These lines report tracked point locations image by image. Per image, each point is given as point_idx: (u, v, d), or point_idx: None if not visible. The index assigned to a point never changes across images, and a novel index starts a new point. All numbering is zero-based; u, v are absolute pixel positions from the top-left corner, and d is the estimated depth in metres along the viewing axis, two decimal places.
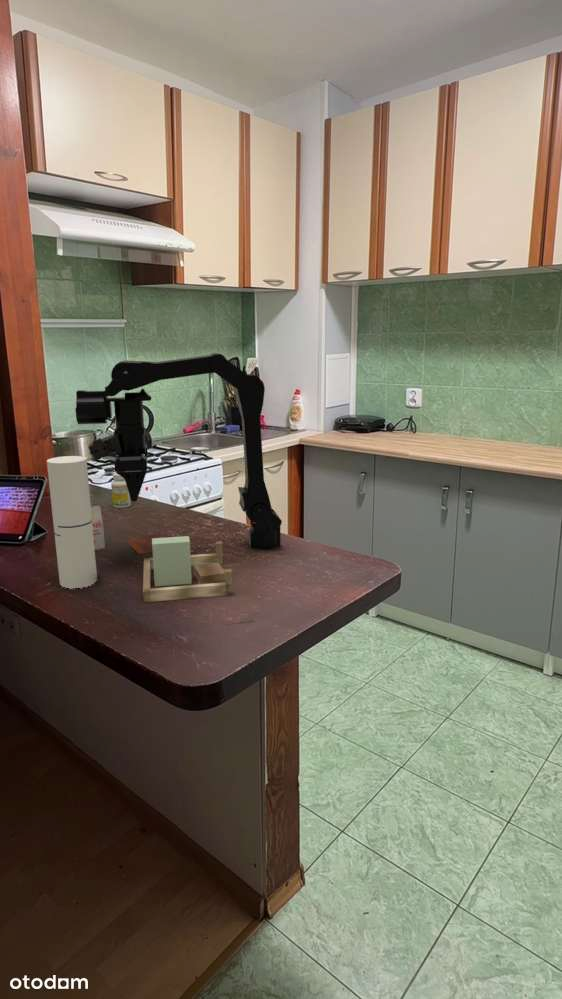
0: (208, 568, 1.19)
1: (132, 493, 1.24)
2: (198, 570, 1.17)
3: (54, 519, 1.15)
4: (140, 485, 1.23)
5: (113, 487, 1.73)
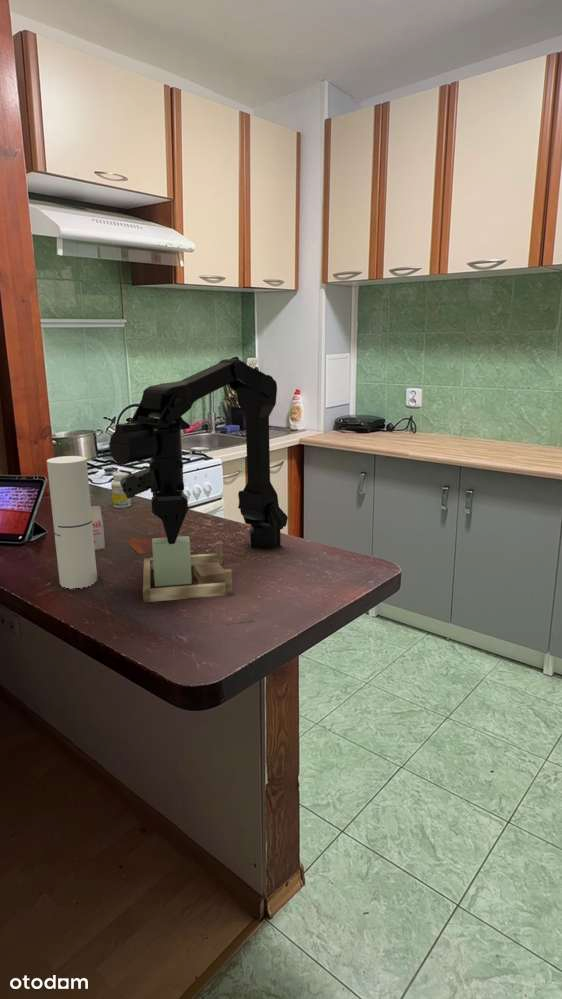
0: (209, 568, 1.19)
1: (170, 535, 1.10)
2: (198, 570, 1.18)
3: (54, 519, 1.15)
4: (179, 526, 1.09)
5: (113, 487, 1.73)
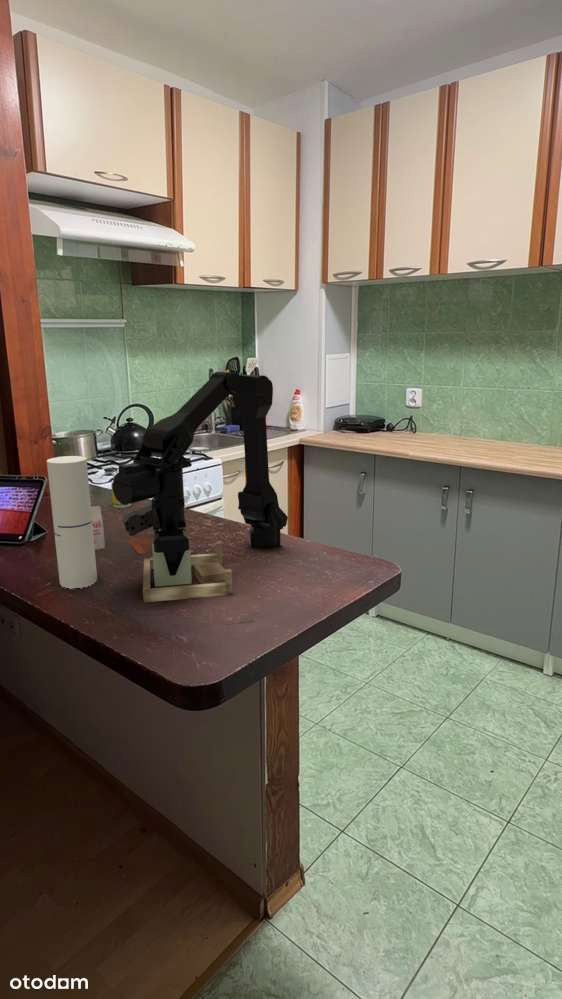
0: (209, 568, 1.19)
1: (171, 567, 1.14)
2: (199, 570, 1.18)
3: (54, 519, 1.15)
4: (180, 559, 1.13)
5: None
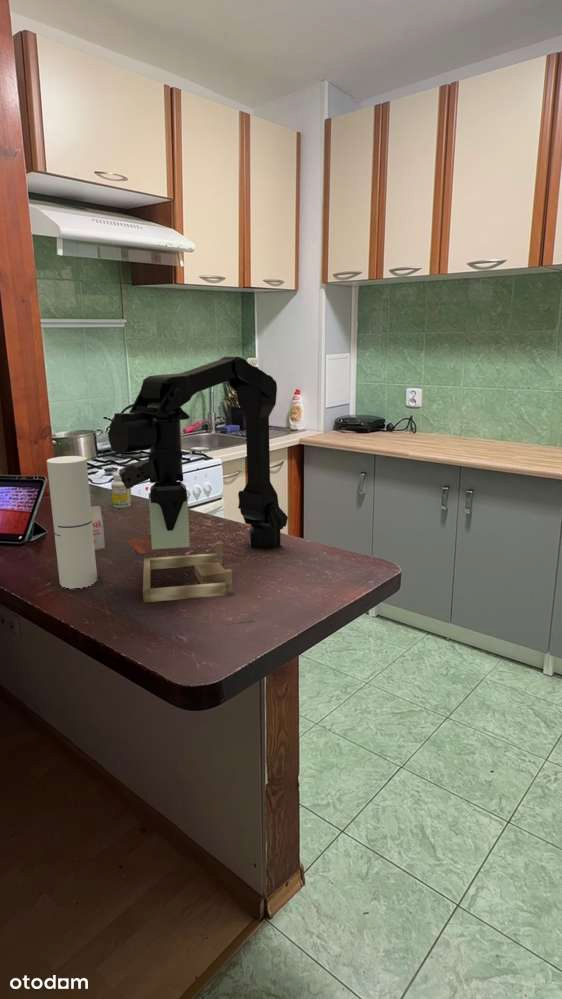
0: (209, 567, 1.19)
1: (168, 522, 1.11)
2: (199, 570, 1.18)
3: (54, 519, 1.15)
4: (177, 513, 1.11)
5: (113, 487, 1.73)
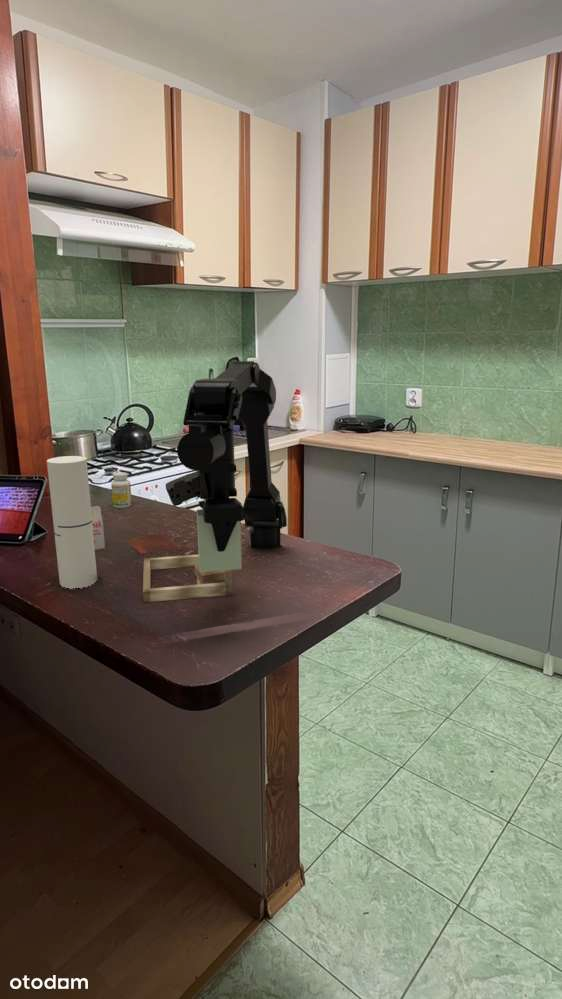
0: None
1: (220, 542, 1.00)
2: (199, 569, 1.18)
3: (54, 519, 1.15)
4: (230, 532, 1.00)
5: (113, 487, 1.73)
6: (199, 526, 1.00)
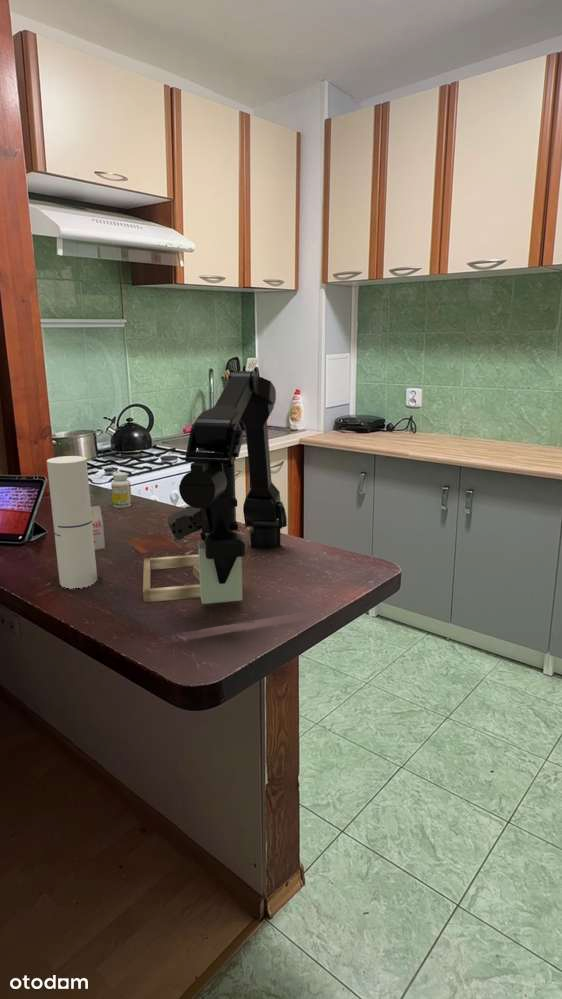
0: None
1: (221, 574, 1.02)
2: None
3: (54, 519, 1.15)
4: (231, 565, 1.01)
5: (113, 487, 1.73)
6: (201, 559, 1.01)
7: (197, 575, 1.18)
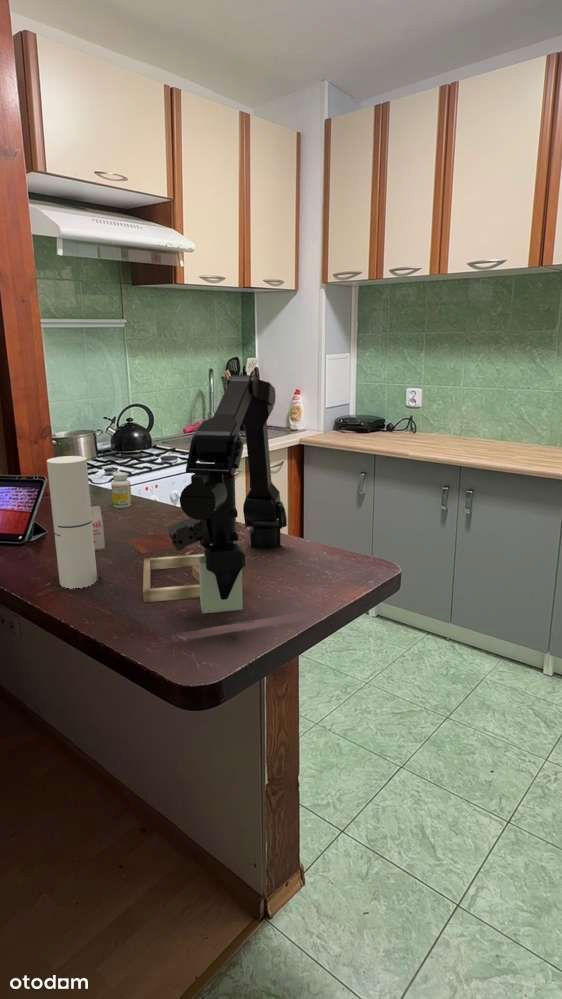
0: None
1: (223, 590, 1.00)
2: (198, 570, 1.17)
3: (54, 519, 1.15)
4: (233, 581, 0.99)
5: (113, 487, 1.73)
6: (201, 573, 1.02)
7: (196, 575, 1.18)
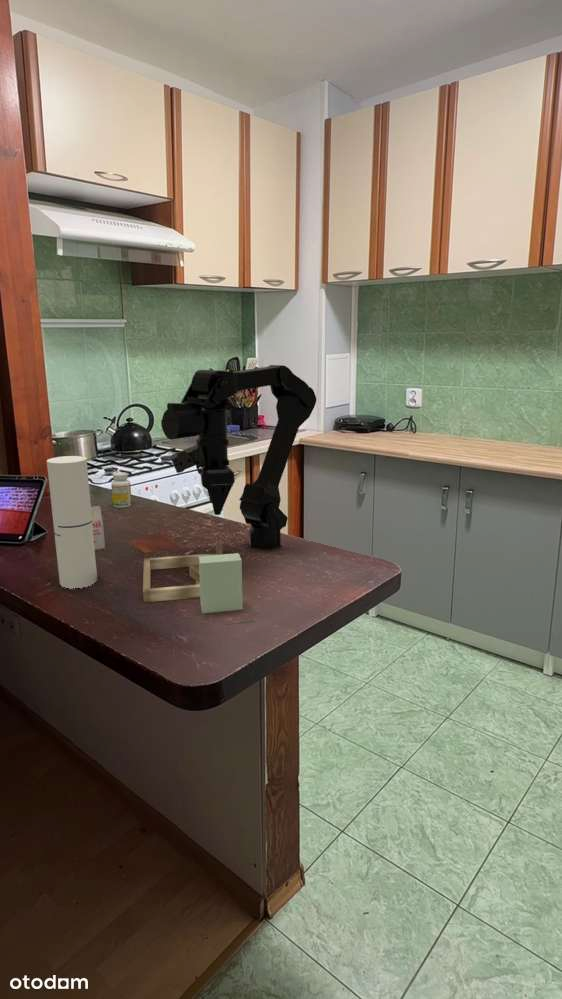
0: None
1: (216, 506, 1.20)
2: (196, 570, 1.17)
3: (54, 519, 1.15)
4: (225, 498, 1.19)
5: (113, 487, 1.73)
6: (201, 573, 1.02)
7: (195, 575, 1.18)
